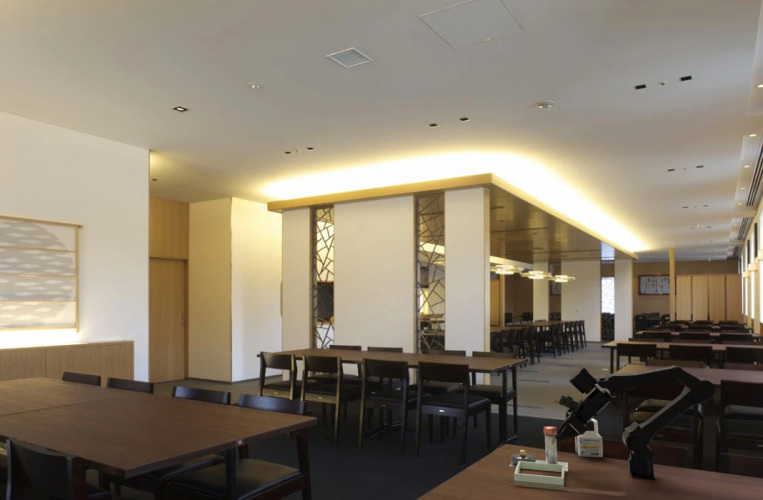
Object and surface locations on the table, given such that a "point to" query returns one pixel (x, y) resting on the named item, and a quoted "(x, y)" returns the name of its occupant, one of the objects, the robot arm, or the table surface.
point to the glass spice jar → (550, 444)
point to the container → (590, 441)
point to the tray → (539, 478)
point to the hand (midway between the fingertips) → (557, 437)
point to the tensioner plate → (530, 459)
